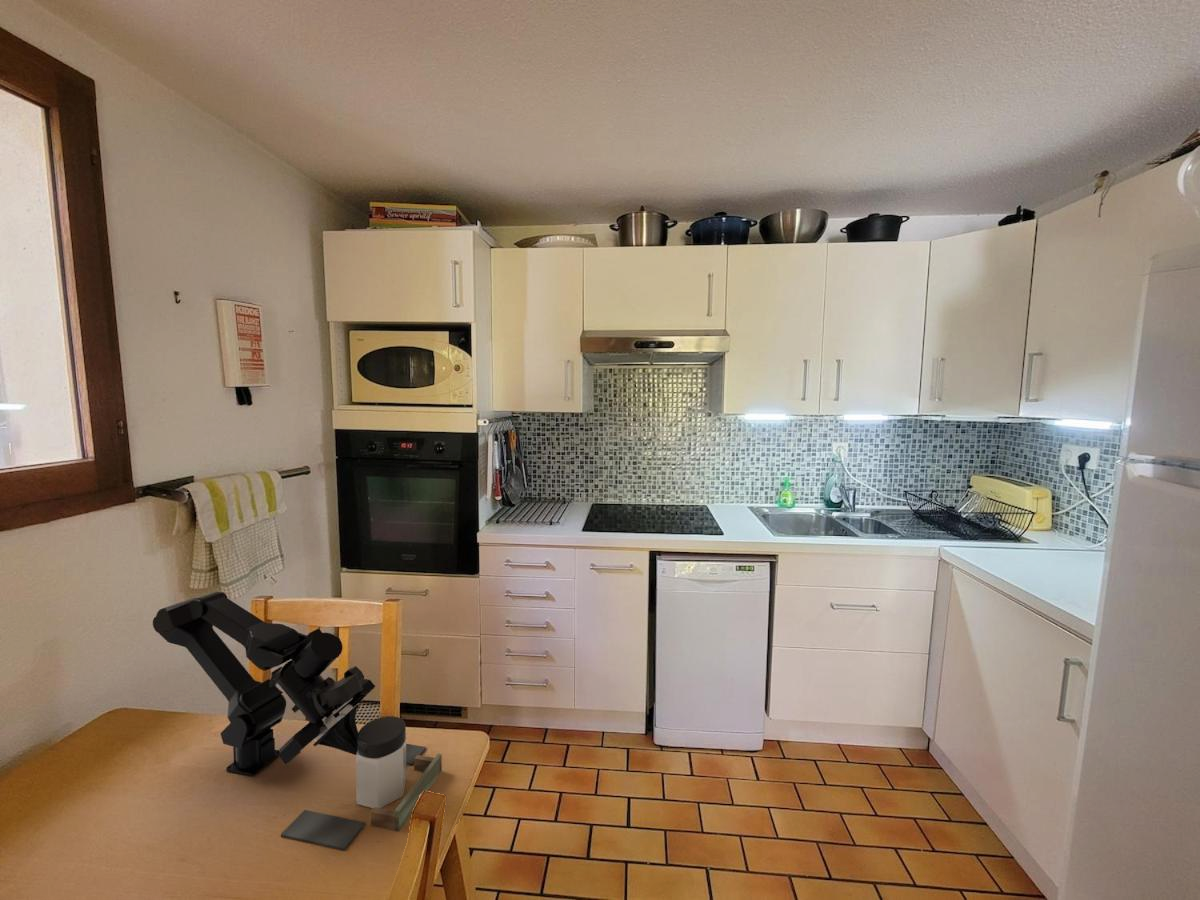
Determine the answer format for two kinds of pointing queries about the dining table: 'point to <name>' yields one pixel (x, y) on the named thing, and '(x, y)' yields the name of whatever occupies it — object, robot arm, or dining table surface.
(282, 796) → the dining table surface
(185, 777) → the dining table surface
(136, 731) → the dining table surface
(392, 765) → the jar
